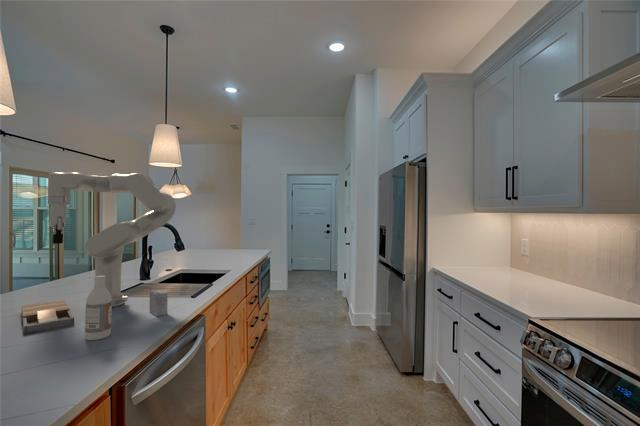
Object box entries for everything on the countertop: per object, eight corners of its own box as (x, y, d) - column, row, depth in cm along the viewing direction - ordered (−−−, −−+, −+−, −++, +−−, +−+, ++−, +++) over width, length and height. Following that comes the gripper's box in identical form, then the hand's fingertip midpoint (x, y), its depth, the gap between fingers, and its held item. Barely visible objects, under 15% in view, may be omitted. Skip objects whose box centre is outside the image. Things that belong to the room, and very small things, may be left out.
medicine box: (167, 314, 124) (168, 293, 124) (155, 316, 121) (156, 295, 121) (160, 310, 129) (160, 289, 129) (148, 312, 126) (149, 291, 126)
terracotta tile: (37, 316, 112) (37, 311, 111) (55, 313, 115) (55, 308, 115) (37, 324, 108) (37, 319, 108) (56, 320, 112) (56, 316, 111)
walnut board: (21, 313, 120) (21, 305, 120) (64, 307, 130) (64, 300, 130) (22, 324, 109) (22, 316, 109) (69, 316, 118) (69, 309, 118)
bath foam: (108, 339, 98) (110, 277, 99) (82, 342, 95) (84, 278, 96) (112, 331, 105) (114, 273, 105) (87, 334, 102) (89, 274, 102)
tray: (22, 324, 109) (23, 317, 109) (69, 316, 118) (69, 310, 118) (23, 334, 100) (24, 326, 100) (73, 325, 110) (74, 318, 110)
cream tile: (38, 322, 104) (38, 328, 104) (57, 319, 107) (57, 325, 107) (38, 319, 107) (38, 324, 107) (56, 316, 111) (56, 321, 111)
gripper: (46, 201, 134) (44, 242, 134) (49, 200, 124) (47, 245, 123) (68, 201, 140) (66, 241, 139) (72, 201, 129) (71, 244, 129)
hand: (57, 243), depth 131 cm, fingers closed
